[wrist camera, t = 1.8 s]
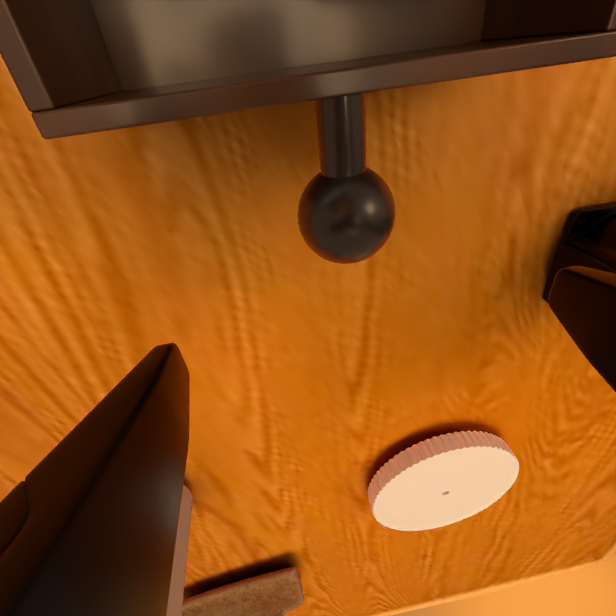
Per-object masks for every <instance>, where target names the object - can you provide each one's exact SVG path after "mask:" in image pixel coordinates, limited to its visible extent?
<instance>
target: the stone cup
mask: <svg viewBox="0 0 616 616" xmlns="http://www.w3.org/2000/svg"><path fill="white" fill-rule="evenodd" d="M303 601H304V596H303V589H302V585H301V582H300V573H299V571H298V569H297V567H296V566H294V567H289V568H285V569H281V570H277V571H273V572H269V573H265V574H261V575H258V576H254V577H250V578H246V579H243V580H241V581H237V582H234V583H230V584H227V585H224V586H221V587H218V588H215V589H212V590H209V591H206V592H204V593H201V594H198V595H196V596H193V597H190V598H188V599H186V600H184V601H183V603H182V614H181V615H182V616H284V615H285V614H286V613H287V612H288V611H290V610H292V609H294V608H297V607H299V606H300V605H301V604H302V603H303Z"/></svg>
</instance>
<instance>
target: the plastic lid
mask: <svg viewBox="0 0 616 616" xmlns="http://www.w3.org/2000/svg"><path fill="white" fill-rule="evenodd" d="M518 463H519V462H518V461H517V458H516V457H515V455H514V454H513V452H512V451H511V450H510V448H509V447H508V445H507V444H506V442H505V441H504V440H503V439H501V438H500V437H499V436H498V437H497V436H496V435H493V434H492V433H489V434H488V433H487V432H484V433H483V432H482V431H479V432H477V431H473V432H471V431H466V432H464V431H460V432H454V433H451V434H450V433H447V434H446V435H443V434H441V435H439V436H438V437H436V436H434V437H432V438H431V439H426V440H425V441H423V442H422V441H420V442H419V443H418V444H414V445H412V447H410V448H409V447H408V448H406V450H404V451H401V452H399V454H398V455H395V456H394V458H392V459H389V461H388V462H386V463H384V466H382V467H380V470H378V471H377V472H376V473H377V474H375V475H374V476H373V477H374V478H373V479H371V482H370V483H369V485H370V486H368V489H369V490H368V499H369V502H370V506H371V509H372V513H373V515H374V517H375V519H376V520H377V522H379V523H380V524H382V525H383V526H386V527H387V528H388V527H390V529H394V530H397V529H398V530H399V531H401V530H403V531H406V530H408V531H411V530H413V531H416V530H419V531H421V530H427V529H433V528H438V527H440V526H441V527H443V526H445V525H450V524H451V523H456V522H457V521H461V520H462V519H466V518H467V517H469V516H470V517H471V516H473V514H477V513H478V512H479V511H482V510H483V509H484V508H487V507H488V506H489V505H492V504H493V502H496V501H497V499H499V498H501V496H502V495H504V494H505V492H507V491H508V490H509V488H511V487H512V486H511V485H512V484H514V481H516V477H518V475H517V474H518V473H519V471H518V470H519V464H518Z"/></svg>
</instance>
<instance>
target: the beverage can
mask: <svg viewBox="0 0 616 616" xmlns="http://www.w3.org/2000/svg"><path fill="white" fill-rule="evenodd" d="M192 501H193V497H192V493H191V491H190V490H189V489H188V488H187V487H186V486H185V485H184V484H183V490H182V498H181V506H180V514H179V521H178V529H177V537H176V544H175V552H174V560H173V568H172V575H171V583H170V591H169V599H168V606H167V614H166V616H181V614H182V603H183V593H184V583H185V573H186V562H187V552H188V542H189V532H190V522H191V511H192Z"/></svg>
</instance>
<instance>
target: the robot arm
mask: <svg viewBox="0 0 616 616" xmlns="http://www.w3.org/2000/svg"><path fill="white" fill-rule="evenodd" d="M578 218H579V219H578ZM543 299H544V300H545V301H546V302H547V303H549V306H550V308H551V310H552V311H553V312H554V314H555V315H556V317H557V318H558V319H559V321H560V322H561V324H562V325H563V327H564V328H565V329H566V331H567V332H568V334H569V335H570V336H571V338H572V339H573V341H574V342H575V343H576V345H577V346H578V348H579V349H580V350H581V352H582V353H583V354H584V356H585V357H586V358H587V360H588V361H589V362H590V363H591V364H592V366H593V367H594V368H595V369H596V370H597V371H598V373H599V374H600V375H601V376H602V377H603V378H604V380H605V381H606V382H607V383H608V384H609V385H610V386H611V388H612V389H613V390H614V391H615V392H616V202H613V203H607V204H601V205H596V206H590V207H584V208H579V209H576V210H574V211H573V212H572V213H571V214H570V216H569V218H568V220H567V223H566V227H565V230H564V233H563V236H562V239H561V242H560V245H559V248H558V251H557V254H556V257H555V260H554V263H553V266H552V270H551V273H550V276H549V279H548V282H547V285H546V288H545V291H544V294H543ZM188 442H189V372H188V368H187V366H186V364H185V362H184V359H183V357H182V355H181V353H180V350H179V348H178V346H177V345H176V344H174V343H169V344H163V345H158V346H156V347H154V348H153V349H152V350H151V351H150V352H149V353H148V354H147V355H146V356H145V357H144V358H143V359H142V360H141V361H140V362H139V363H138V364H137V365H136V366H135V367H134V368H133V369H132V370H131V371H130V372H129V373H128V374H127V375H126V376H125V378H124V379H123V380H122V381H121V382H120V383H119V384H118V385H117V386H116V387H115V388H114V389H113V390H112V391H111V392H110V393H109V394H108V395H107V396H106V397H105V398H104V399H103V400H102V401H101V402H100V403H99V404H98V405H97V406H96V407H95V408H94V409H93V410H92V411H91V412H90V413H89V414H88V415H87V416H86V417H85V418H84V419H83V420H82V421H81V422H80V423H79V424H78V425H77V426H76V427H75V428H74V429H73V430H72V431H71V432H70V433H69V434H68V435H67V436H66V437H65V438H64V439H63V440H62V441H61V442H60V443H59V444H58V445H57V446H56V447H55V448H54V449H53V450H52V451H51V452H50V453H49V454H48V455H47V456H46V457H45V458H44V459H43V460H42V461H41V462H40V463H39V464H38V465H37V466H36V467H35V468H34V469H33V470H32V471H31V472H30V473H29V474H28V475H27V476H26V478H25V481H21V482H20V483H19V484H18V485H17V486H16V487H15V488H14V489H13V490H12V491H11V492H10V493H9V494H8V495H7V496H6V497H5V498H4V499H3V500H2V501H1V502H0V616H166V614H167V606H168V599H169V591H170V583H171V575H172V568H173V560H174V552H175V544H176V537H177V529H178V521H179V514H180V506H181V498H182V490H183V483H184V475H185V467H186V460H187V452H188Z"/></svg>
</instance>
